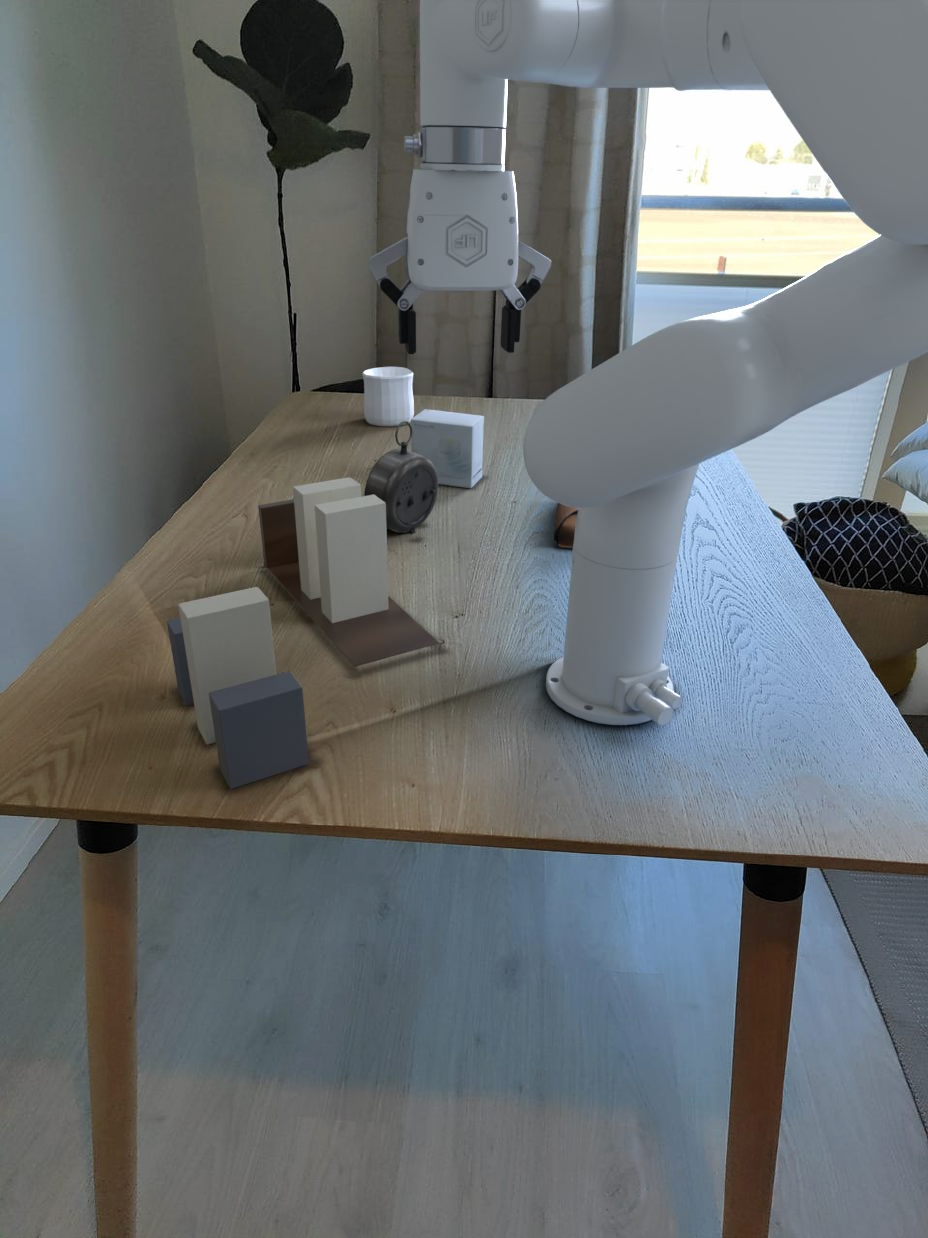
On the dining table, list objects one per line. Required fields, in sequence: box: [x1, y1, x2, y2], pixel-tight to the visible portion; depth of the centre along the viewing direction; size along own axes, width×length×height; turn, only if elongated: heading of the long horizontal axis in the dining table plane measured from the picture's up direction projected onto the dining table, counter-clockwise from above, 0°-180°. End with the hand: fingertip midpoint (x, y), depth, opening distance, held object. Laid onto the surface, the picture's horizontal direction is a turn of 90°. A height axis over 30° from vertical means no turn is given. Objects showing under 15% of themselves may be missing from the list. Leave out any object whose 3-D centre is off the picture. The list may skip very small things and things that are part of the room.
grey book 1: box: [166, 617, 194, 707], centre depth 83 cm, size 3×7×8 cm, turn 120°
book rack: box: [257, 498, 440, 667], centre depth 98 cm, size 28×10×9 cm, turn 30°
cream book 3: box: [315, 495, 389, 623], centre depth 95 cm, size 3×7×13 cm, turn 120°
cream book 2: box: [292, 476, 362, 600], centre depth 99 cm, size 3×7×13 cm, turn 120°
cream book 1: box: [177, 586, 277, 746], centre depth 76 cm, size 3×7×13 cm, turn 121°
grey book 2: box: [209, 670, 310, 790], centre depth 72 cm, size 3×7×8 cm, turn 120°
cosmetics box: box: [410, 408, 485, 489], centre depth 138 cm, size 10×6×10 cm, turn 71°
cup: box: [362, 366, 415, 427], centre depth 169 cm, size 10×10×10 cm
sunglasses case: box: [552, 503, 579, 550], centre depth 124 cm, size 18×7×7 cm
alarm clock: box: [363, 421, 439, 535], centre depth 116 cm, size 11×5×16 cm, turn 141°
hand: (459, 350), depth 84 cm, fingers open, 9 cm apart
